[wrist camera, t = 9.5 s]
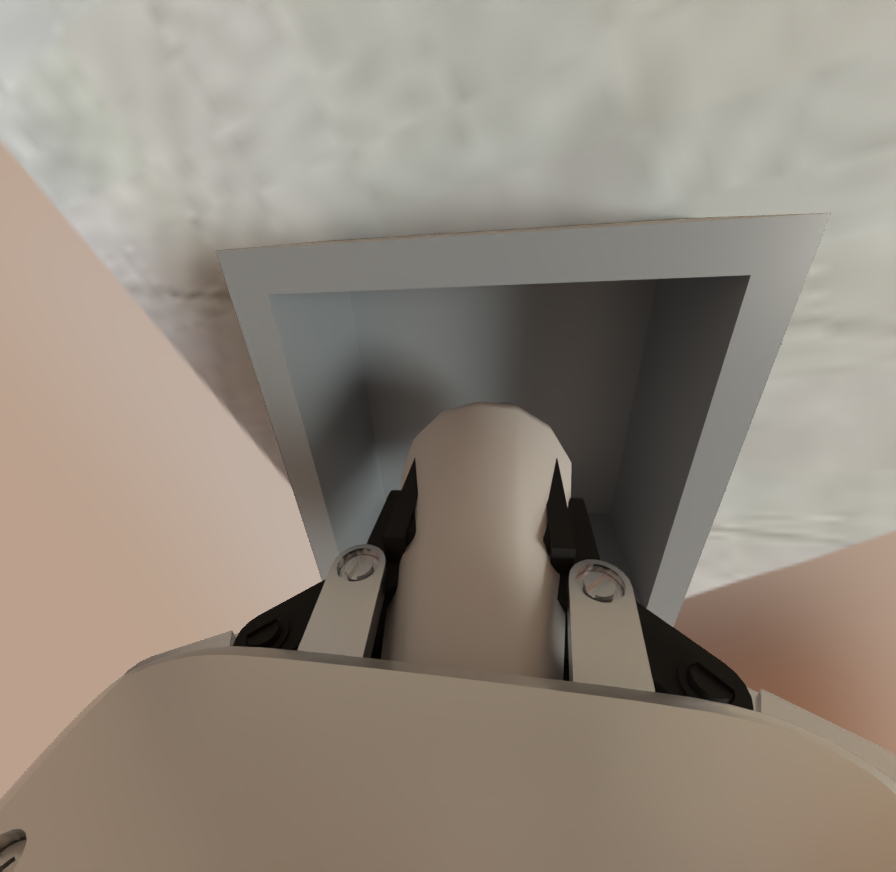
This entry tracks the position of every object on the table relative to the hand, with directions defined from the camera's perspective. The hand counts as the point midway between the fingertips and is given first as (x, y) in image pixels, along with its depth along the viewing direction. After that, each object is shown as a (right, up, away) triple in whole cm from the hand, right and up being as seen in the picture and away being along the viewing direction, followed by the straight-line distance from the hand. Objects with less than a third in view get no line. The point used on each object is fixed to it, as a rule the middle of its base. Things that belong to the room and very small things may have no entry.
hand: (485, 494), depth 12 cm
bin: (+1, +4, +7) cm, 8 cm away
